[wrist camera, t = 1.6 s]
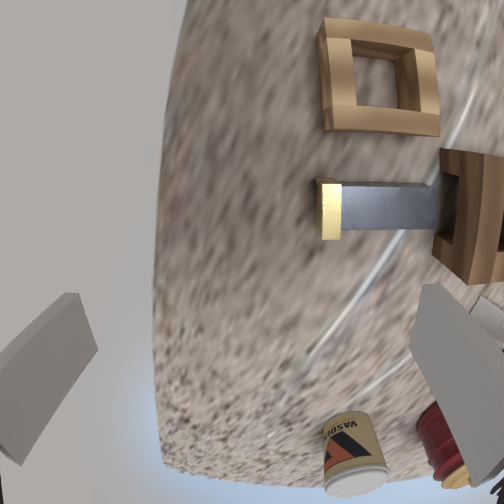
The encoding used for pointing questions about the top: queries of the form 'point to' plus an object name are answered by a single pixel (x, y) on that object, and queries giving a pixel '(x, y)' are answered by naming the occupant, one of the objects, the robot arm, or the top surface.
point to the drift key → (372, 206)
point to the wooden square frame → (407, 75)
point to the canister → (442, 450)
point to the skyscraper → (490, 319)
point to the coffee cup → (352, 456)
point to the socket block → (474, 218)
